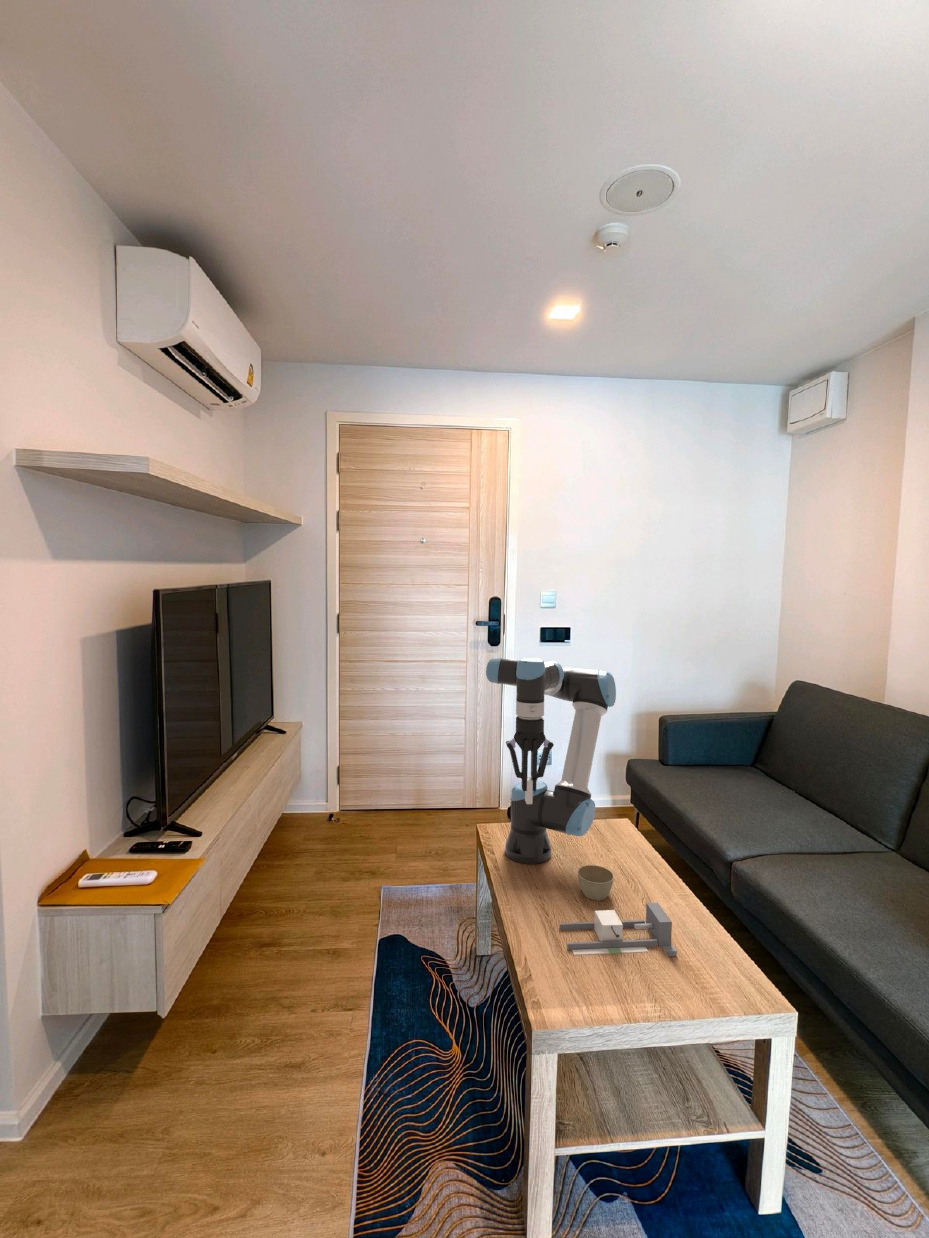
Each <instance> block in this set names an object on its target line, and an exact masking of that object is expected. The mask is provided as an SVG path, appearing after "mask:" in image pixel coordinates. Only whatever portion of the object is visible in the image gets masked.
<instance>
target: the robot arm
mask: <svg viewBox="0 0 929 1238" xmlns="http://www.w3.org/2000/svg"><path fill="white" fill-rule="evenodd" d="M485 675H486V676H485V677H486V679H487V680H488V682H490V683H494V684H497V685H499V684H500V685H508V686H512V687H516V698H515V700H516V701H515V703H516V704H515V714H516V717H515V732H514V735H513V738H512V739H510V740H506V742H505V745H506V747H507V748H508V750H509V753H510V754H509V755H510V757H511V762H512V766H513V771H514V774H515V777H516V778H517V779H521V781H520V782H518V783H516V784H515V785H514V786H513V787H511V796H510V830H509V833H508V836H507V839H506V842H505V844H504V845H505V846H504V851H505V855H506V857H508V858H509V859H510V860H512V861H513V862H516V863H520V864H525V865H536V864H542V863H546V862H547V861H548V860H549V859H550V858H551V857H552V845H551V842H550V837H549V835H548V832H547V830H551V831H554V832H558V833H562V834H565V835H568V836H575V837H579V838H580V837H583V836H586V834H587V833H588V831H590V828H591V827H592V824H593V821H594V819H595V815H596V803H595V801H594V800H593V798H592V793H591V791H590V790H589V782H590V778H591V773H592V772H591V771H592V766H593V762H594V756H595V750H596V747H597V740H598V735H599V729H600V726H601V725H600V724H601V720H602V716H604V715H606V714H607V712H608V709H609V708H611V707H614V706H615V703H616V700H617V699H616V698H617V689H616V682H615V678H614V676H613V674H611V672H608V671H605V670H600V669H588V668H587V669H585V668H576V667H575V668H574V667H563V666H562V665H561V664H560V663H559V662H557V661H555V660H546V661H544V660H543V659H542V658H535V657H534V658H532V657H531V658H530V657H529V658H528V657H526V658H520V659H511V658H502V657H493V658H490V659H489V660H488V662H487V663H486V670H485ZM545 696H550V697H552V698H555V699H559V700H562V701H567V702H572V704H571V705H572V707H573V708H574V710H575V713H574V717H573V721H572V726H571V731H570V735H569V736H570V737H569V740H568V741H569V742H568V745H567V750H566V754H565V755H566V756H565V760H564V763H563V764H564V766H563V770H562V774H561V780H559V782H557V783H556V784H555V785H554V789H553V790H550V789H548V784H547V783H546V782H544V781H541V780H538V779H539V778H543V777H544V775H545V771H546V767H547V763H548V760H549V755H550V751H551V750H552V748H553V747H554V742H553V741H552V740H550V739H547V738H546V735H545V719H544V715H545ZM608 707H609V708H608ZM516 744H517V746H518V747H519V748H520V750H521V770H520V765H519V761H518V757H517V754H516V753H517V752H516V750H515V748H516ZM542 746H543V748H542V753H541V757H540V761H539V764H538V754H539V749H540V748H541V747H542ZM529 752H530V776H528V767H529V764H528V763H529V762H528V757H529ZM591 798H592V799H591Z"/></svg>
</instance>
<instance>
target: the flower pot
mask: <svg viewBox="0 0 929 1238" xmlns="http://www.w3.org/2000/svg"><path fill="white" fill-rule="evenodd" d="M577 880H578V883H579V886H580V890H581V891H582V893H583V895H584V897H586V898H587V899H590V900H593V901H603V900H605V899H607V897H608V895H609V894H610V892H611V890H612V887H613V884H614V880H615V875H614V873H613V872H612V871H611V870H610V869H608V868H606V867H604V866H602V865H596V864H595V865H594V864H587V865H582V866H580V867H579V868H578V869H577Z"/></svg>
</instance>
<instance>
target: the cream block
mask: <svg viewBox="0 0 929 1238" xmlns="http://www.w3.org/2000/svg"><path fill="white" fill-rule="evenodd" d="M621 921H622V920H621V919H620V917H619V916H618V914H617V912H616V911H615V909H611V910H610V909H606V910H605V909H603V910H594V922H595V929H594V932H595V934H596V936H597V938H598V941H620V940H623V933H624V932H623V929H624V928H623V924H622V922H621Z"/></svg>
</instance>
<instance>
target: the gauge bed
mask: <svg viewBox="0 0 929 1238" xmlns="http://www.w3.org/2000/svg"><path fill="white" fill-rule="evenodd" d="M645 905H646V908H645V919H634V920H633V919H632V920H620V921H621V922H622V924H623V929H624V928H634V929H635V930H648V931H649V933H650V935H652V937H653V938H652V939H651V938H649V939H627V940H626V939H624V940H623V939H622V940H620V941H600V940H598V941H595V940H594V941H577V942H567V943H566V945H567V946H566V948H567V951H572V954H573V956H580V955H581V956H582V955H586V956H587V955H603V954H604V955H607V954H626V953H627V954H628V953H629V954H631V953H649V950H648V948H647V947H649V948H651V947H652V948H653V947H654V948H655V947H658V946H659V947H661V948H662V949H663V951H664V952H665V954H666V955H667V957H677V956H678V950H677V949H676V948H675V946H674V945H673V943H672V934H673V933H672V932H673V931H672V930H673V929H672V928H673V925H672V924H673V921H672V920H671V919H670V917H669V916H668V915H667V913H666V912H665V910H664V909H663V908H662V906H661V905H660V904H659V902H646V904H645ZM558 926H559V931H568V930H569V931H571V930H593V929H595V921H583V922H581V921H578V922H559V925H558Z"/></svg>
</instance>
